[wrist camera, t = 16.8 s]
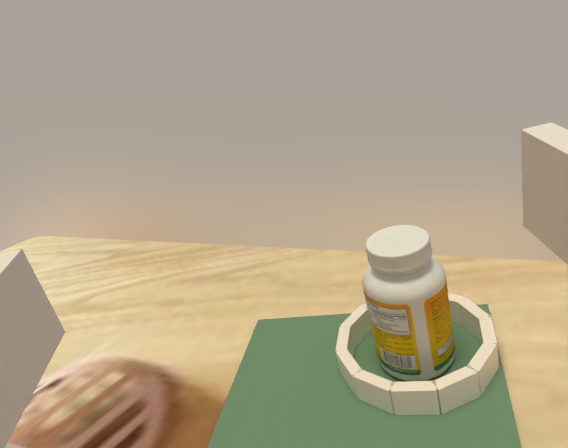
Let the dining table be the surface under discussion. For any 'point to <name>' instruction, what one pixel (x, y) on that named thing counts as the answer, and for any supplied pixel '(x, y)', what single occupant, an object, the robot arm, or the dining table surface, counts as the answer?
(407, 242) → the supplement bottle
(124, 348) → the dining table surface
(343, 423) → the putting mat
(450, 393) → the segmented ring wall
